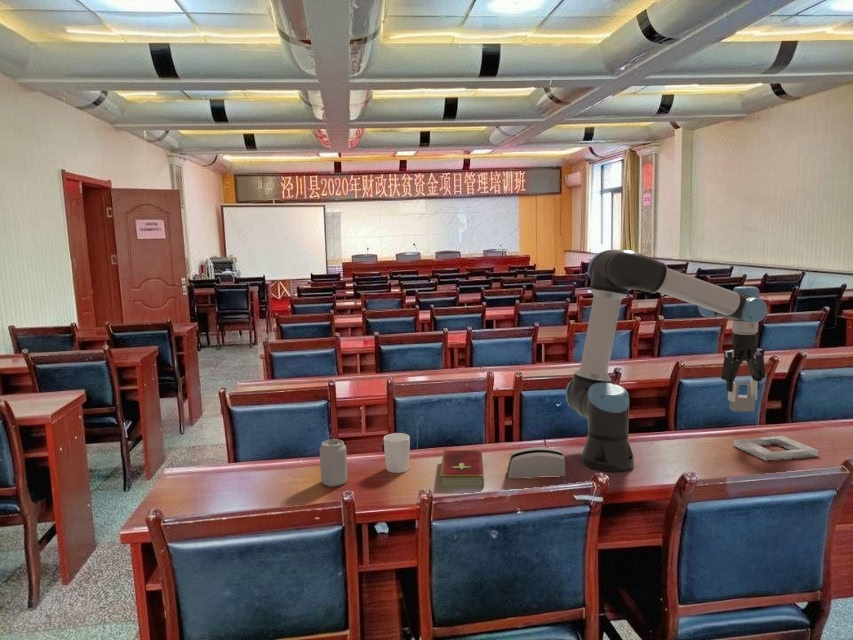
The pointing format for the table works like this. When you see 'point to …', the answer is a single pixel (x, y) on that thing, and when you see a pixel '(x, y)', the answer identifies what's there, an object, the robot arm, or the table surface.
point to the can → (333, 463)
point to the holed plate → (794, 451)
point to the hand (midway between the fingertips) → (742, 399)
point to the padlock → (743, 400)
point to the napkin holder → (536, 463)
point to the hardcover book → (462, 469)
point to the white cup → (397, 452)
